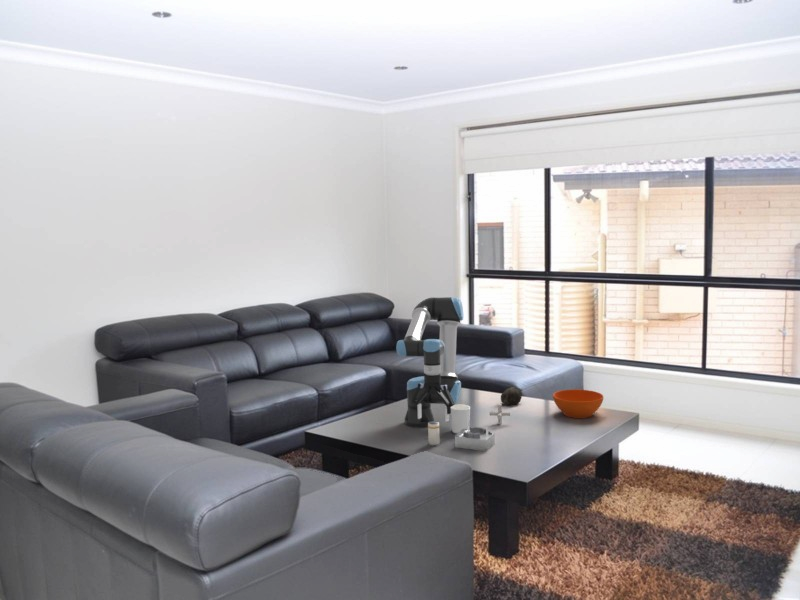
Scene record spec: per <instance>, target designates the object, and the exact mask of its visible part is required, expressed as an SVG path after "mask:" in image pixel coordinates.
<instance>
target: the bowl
mask: <svg viewBox="0 0 800 600" xmlns="http://www.w3.org/2000/svg"><path fill="white" fill-rule="evenodd" d="M552 398H553V401H554V404H555V405H556V407H557V408H558V410H560V411H561V412H562V413H563V414H564V416H565V417H570V418H574V419H585V418H590V417H592V416H593V415H594V414H595V413H596V412H597V411H599V408H600V407H601V406H602V403H603V402H604V394H602V393H600V392H597V391H595V390H594V391H593V390H588V389H578V388H576V389H564V390H558V391H555V392H554V393H553V394H552Z"/></svg>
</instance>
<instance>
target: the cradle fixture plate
mask: <svg viewBox="0 0 800 600" xmlns="http://www.w3.org/2000/svg"><path fill="white" fill-rule="evenodd" d="M495 435H496V434H495V432H493V431H491V430H489V431H487V429H486V428H485V427H481V426H469V430H468V429H465V428H464V429H462V430H461V431H460V432H458V433H455V435H454V448H458V449H467V450H474V451H475V450H476V451H482V452H483V451H484V452H488V451H489V450H490V449H491V448H492V447H493V446H494V445H495V443H496V440H495V439H496V437H495Z"/></svg>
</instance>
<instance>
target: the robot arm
mask: <svg viewBox="0 0 800 600" xmlns="http://www.w3.org/2000/svg"><path fill="white" fill-rule="evenodd" d="M463 320H464V308H463V303H462V300H461V298H459V297H446V296H445V297H434V296H433V297H428V298H426V299H423V300H422V301H420V302H418V304H416V306H415V307H414V309H413V311H412V312H411V321H410V323H409V326H408V329H407V331H406V334H405V336H404V338H403V339H400V340H398V341H397V342H396V347H395V348H396V354H397V355H398V356H399V357H405V358H406V357H423V373H424V375H423V376H422V375H421V376H417V377H412V378H410V379H409V380H408V381H407V382H406V396H407V397H406V399H407V411H406V413H405V417H404V425H405V426H407V427H410V428H428V423H429V422H432V421H435V417H434V414H433V413H434V412H433V411H432V405H433V404H437V405H445V407H444V413H445V414H444V418H445V419H444V421H445V423H446V422H449V421H450V415H451V414H450V413H451V406H453V405H456V404H458V402H459V400H460V396H461V391H462V382H461V381H460V380H459V377H458V375H457V374H456V363H457V362H456V360H457V335H458V327H459V326H460V325H461V322H462V321H463ZM430 321H436V325H438V326H439V338H438V339H437V338H427V339H423V340H422V337H423V334H424V331H425V328H426V326H427V323H429V322H430Z"/></svg>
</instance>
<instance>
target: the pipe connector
mask: <svg viewBox="0 0 800 600" xmlns="http://www.w3.org/2000/svg"><path fill="white" fill-rule="evenodd" d="M502 405H503V403H497V411H489V416H497V423H498V424H497V425H502V424H503V417H507V416H508V417H510V416H511V412H510V411H503V409H502V408H503V407H502Z"/></svg>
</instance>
